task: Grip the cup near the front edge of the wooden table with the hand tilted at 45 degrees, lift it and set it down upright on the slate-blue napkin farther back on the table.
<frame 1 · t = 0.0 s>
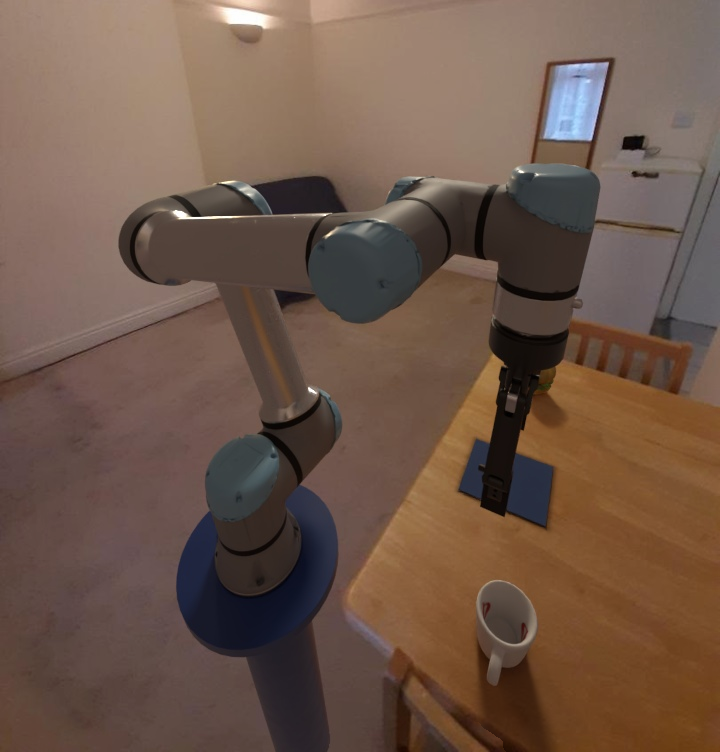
hand: (504, 463, 51), 30 cm above the table, tool pointing down, fingers open, 13 cm apart
cup: (497, 653, 57), on the table
napkin: (506, 478, 82), on the table
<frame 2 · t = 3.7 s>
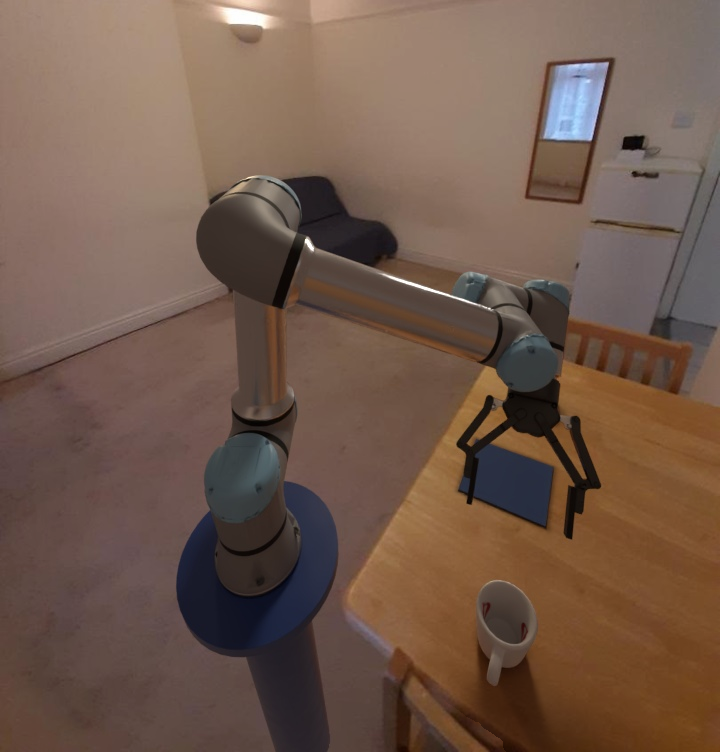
hand: (516, 519, 59), 15 cm above the table, tool tilted 45°, fingers open, 13 cm apart
nothing on the table moved.
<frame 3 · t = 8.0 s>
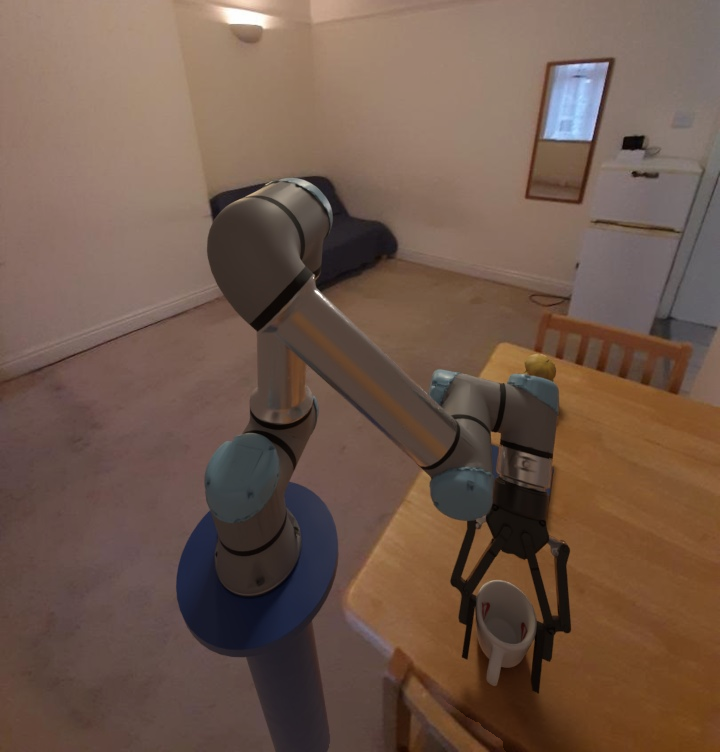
hand: (498, 669, 53), 4 cm above the table, tool tilted 45°, fingers closed on cup, 8 cm apart
cup: (497, 652, 57), on the table, touching gripper
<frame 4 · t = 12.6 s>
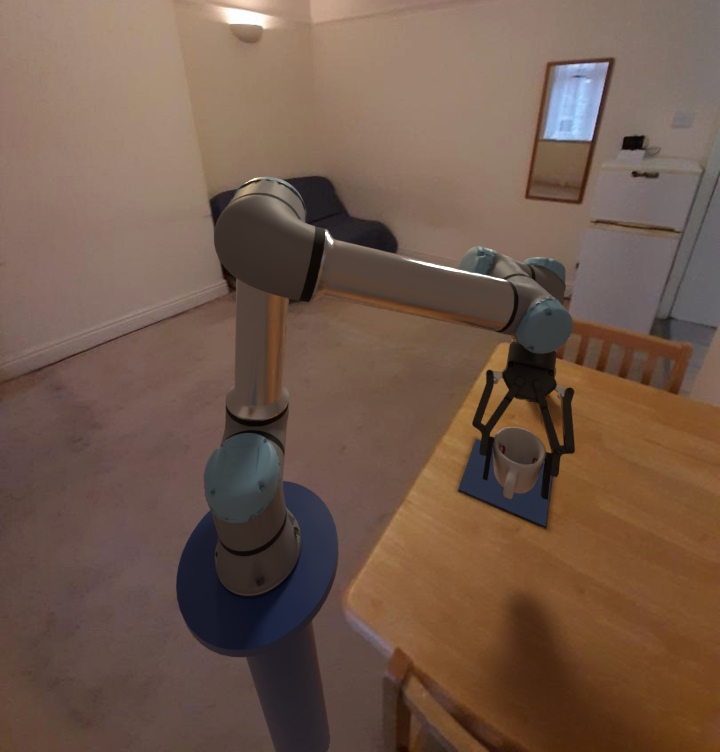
hand: (513, 487, 63), 16 cm above the table, tool tilted 45°, fingers closed on cup, 8 cm apart
cup: (511, 486, 67), point 12 cm above the table, touching gripper
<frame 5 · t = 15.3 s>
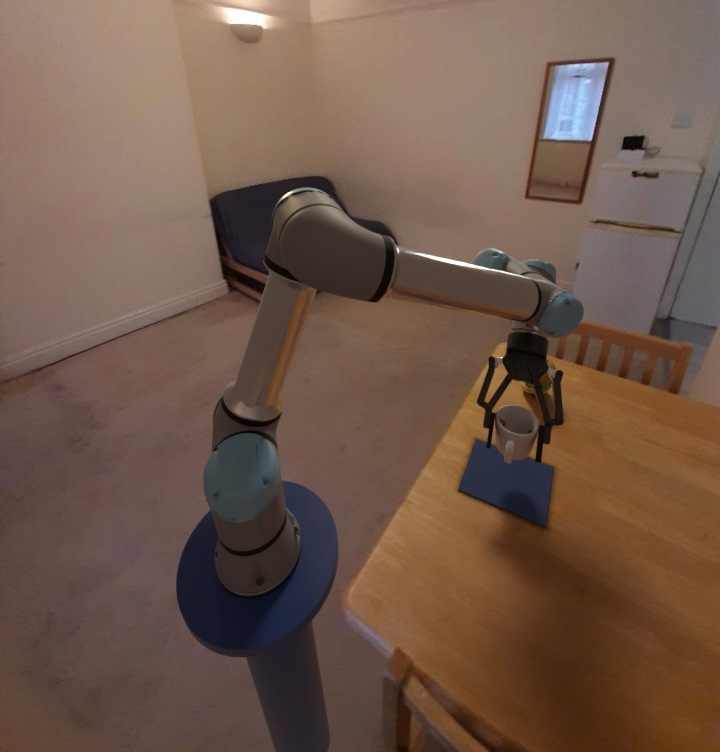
hand: (512, 454, 74), 11 cm above the table, tool tilted 45°, fingers closed on cup, 8 cm apart
cup: (510, 455, 79), point 7 cm above the table, touching gripper
when the fingers open (4 cm above the table, at t = 17.5 s): cup stays where it is, resting on napkin.
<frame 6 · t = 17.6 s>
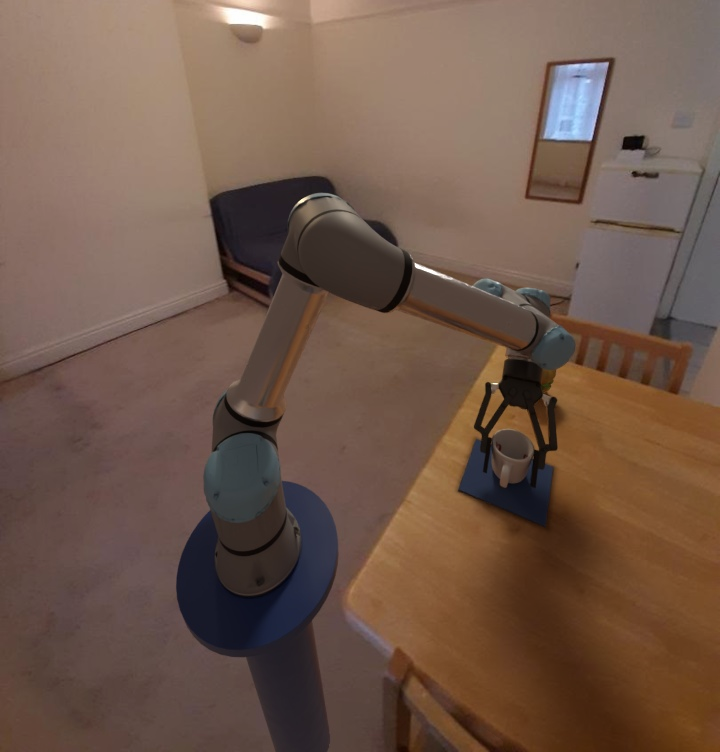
hand: (508, 479, 77), 4 cm above the table, tool tilted 45°, fingers open, 8 cm apart
cup: (506, 477, 82), resting on napkin
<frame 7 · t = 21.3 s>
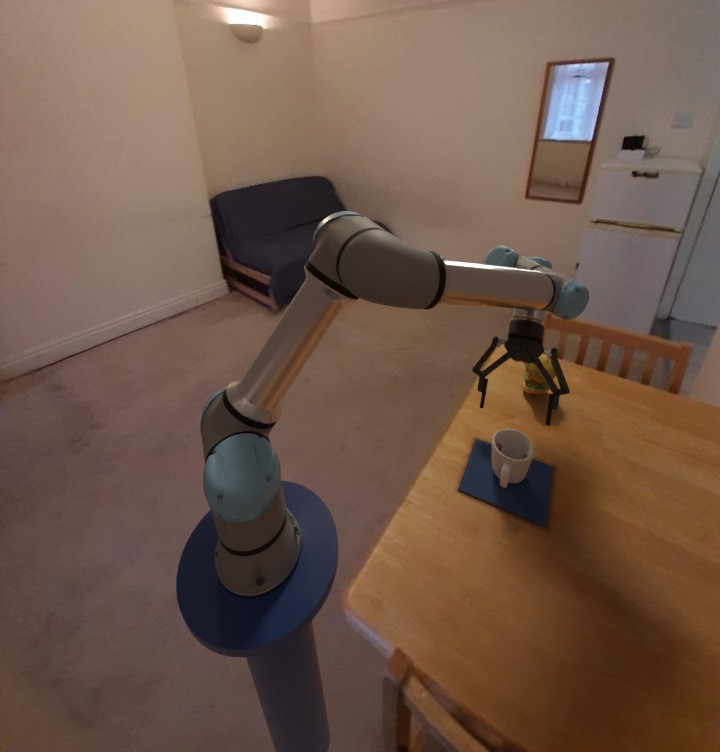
hand: (513, 416, 88), 7 cm above the table, tool tilted 45°, fingers open, 13 cm apart
nothing on the table moved.
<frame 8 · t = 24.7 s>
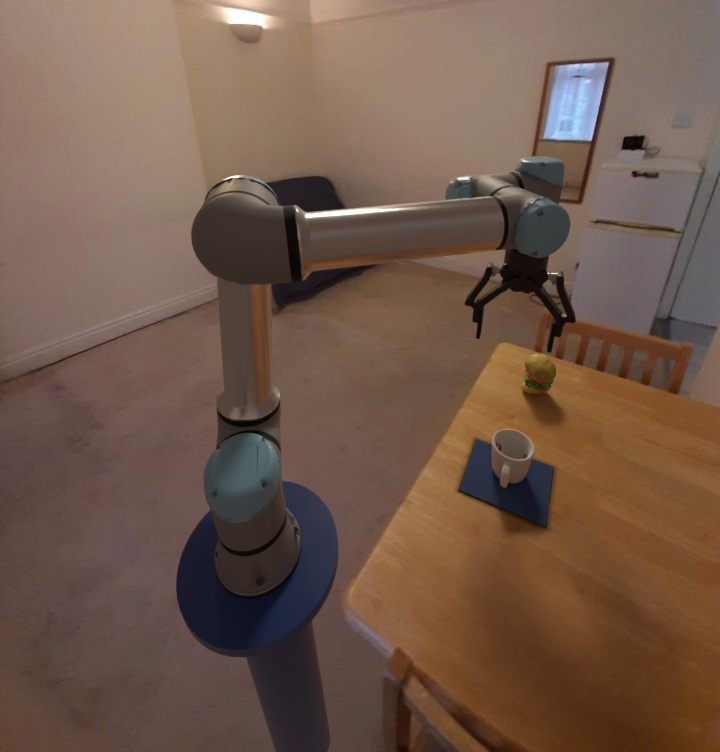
hand: (512, 341, 82), 25 cm above the table, tool pointing down, fingers open, 13 cm apart
nothing on the table moved.
at the end: cup inside the target area on the napkin (0.1 cm from its centre), point 0.1 cm above the napkin's base; cup tilted 0°; the gripper is holding nothing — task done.
